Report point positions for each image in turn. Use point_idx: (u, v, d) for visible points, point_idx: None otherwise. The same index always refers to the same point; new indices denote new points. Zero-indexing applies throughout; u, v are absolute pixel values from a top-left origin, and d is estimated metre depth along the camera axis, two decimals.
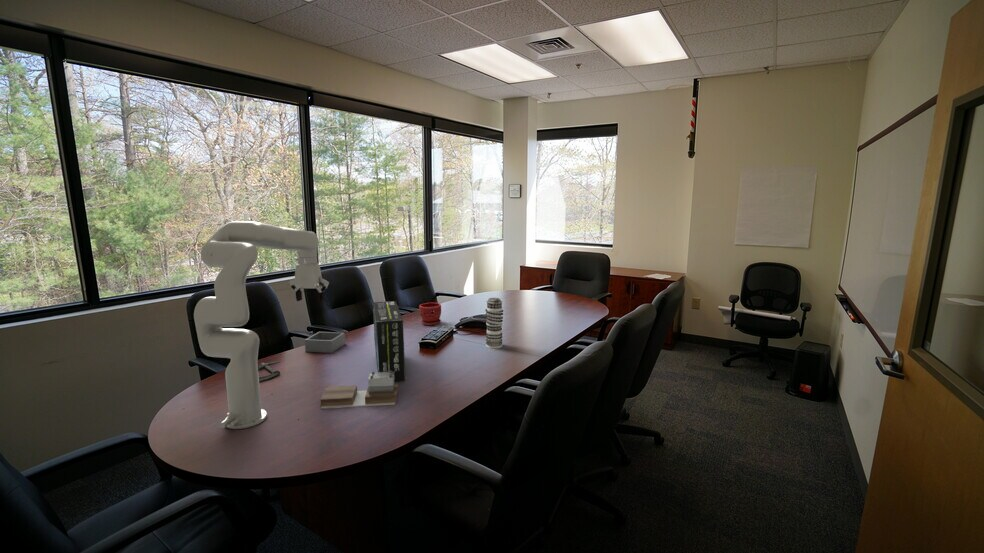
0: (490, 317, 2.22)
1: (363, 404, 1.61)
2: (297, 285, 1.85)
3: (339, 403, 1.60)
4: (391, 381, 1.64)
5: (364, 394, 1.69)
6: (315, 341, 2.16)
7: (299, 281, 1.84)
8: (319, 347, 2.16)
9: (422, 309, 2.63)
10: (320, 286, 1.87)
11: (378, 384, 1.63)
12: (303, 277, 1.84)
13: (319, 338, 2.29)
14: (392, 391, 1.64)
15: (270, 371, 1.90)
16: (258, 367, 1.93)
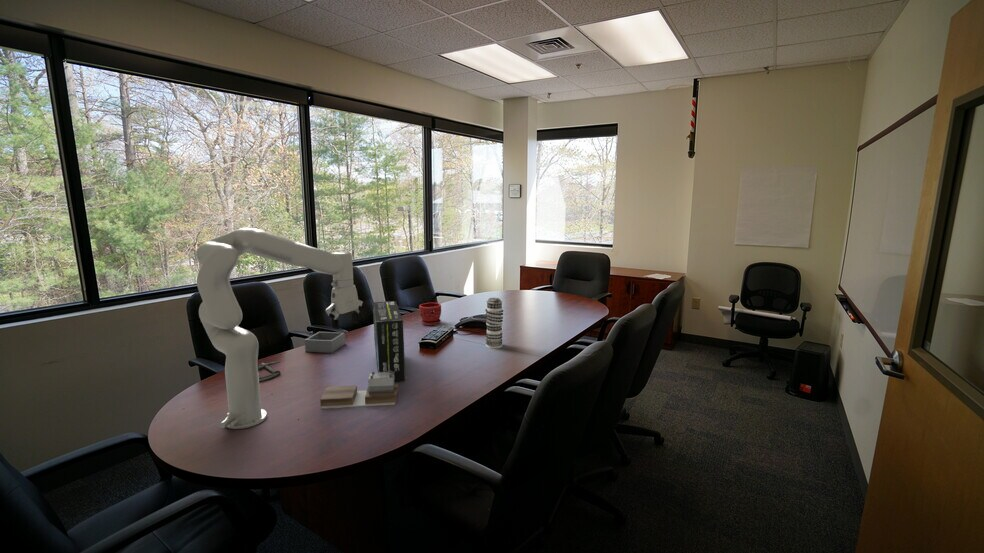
0: (490, 317, 2.22)
1: (363, 404, 1.61)
2: (341, 311, 1.70)
3: (339, 403, 1.60)
4: (391, 381, 1.64)
5: (364, 394, 1.69)
6: (315, 341, 2.16)
7: (343, 306, 1.71)
8: (319, 347, 2.16)
9: (422, 309, 2.63)
10: None
11: (378, 384, 1.63)
12: (347, 301, 1.72)
13: (319, 338, 2.29)
14: (392, 391, 1.64)
15: (270, 371, 1.90)
16: (258, 367, 1.93)
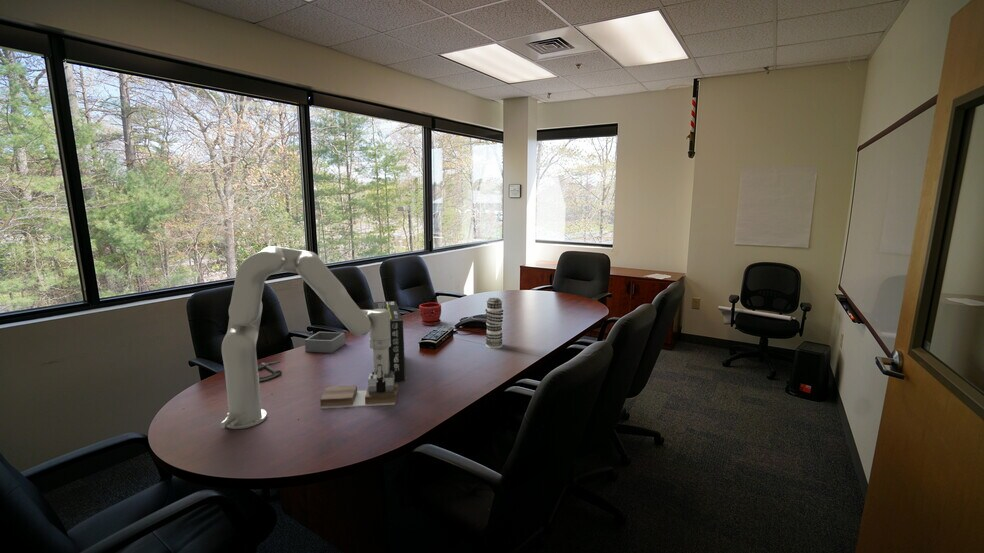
0: (490, 317, 2.22)
1: (363, 404, 1.61)
2: (387, 371, 1.62)
3: (339, 403, 1.60)
4: (391, 381, 1.64)
5: (364, 394, 1.69)
6: (315, 341, 2.16)
7: (388, 366, 1.63)
8: (319, 347, 2.16)
9: (422, 309, 2.63)
10: None
11: None
12: (388, 359, 1.64)
13: (319, 338, 2.29)
14: (392, 391, 1.64)
15: (271, 371, 1.90)
16: (259, 367, 1.93)
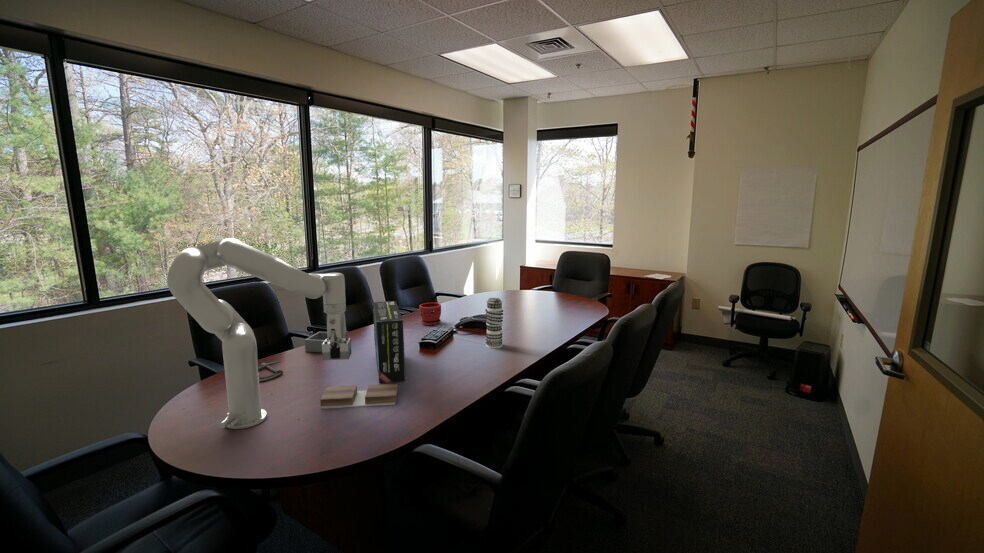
0: (490, 317, 2.22)
1: (363, 404, 1.61)
2: (342, 336, 1.58)
3: (339, 403, 1.60)
4: (346, 347, 1.59)
5: (364, 394, 1.69)
6: (315, 341, 2.16)
7: (342, 331, 1.58)
8: (319, 347, 2.16)
9: (422, 309, 2.63)
10: None
11: None
12: (343, 325, 1.60)
13: (319, 338, 2.29)
14: (347, 357, 1.60)
15: (272, 371, 1.91)
16: (259, 367, 1.93)
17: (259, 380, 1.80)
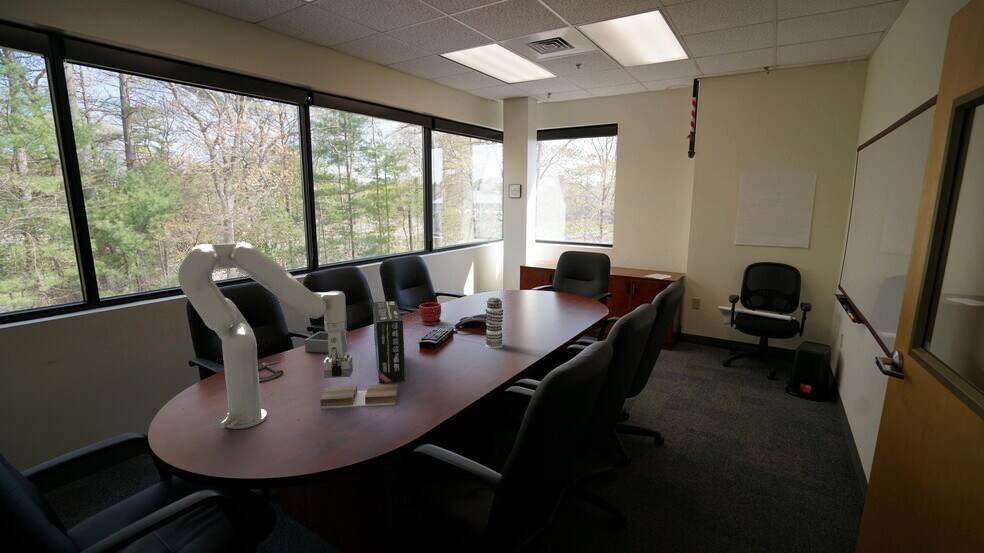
0: (490, 317, 2.22)
1: (363, 404, 1.61)
2: (343, 354, 1.59)
3: (339, 403, 1.60)
4: (347, 365, 1.60)
5: (364, 394, 1.69)
6: (315, 341, 2.16)
7: (343, 349, 1.60)
8: (319, 347, 2.16)
9: (422, 309, 2.63)
10: None
11: None
12: (344, 343, 1.61)
13: (319, 338, 2.29)
14: (348, 375, 1.61)
15: (273, 371, 1.91)
16: (260, 367, 1.93)
17: (260, 380, 1.80)
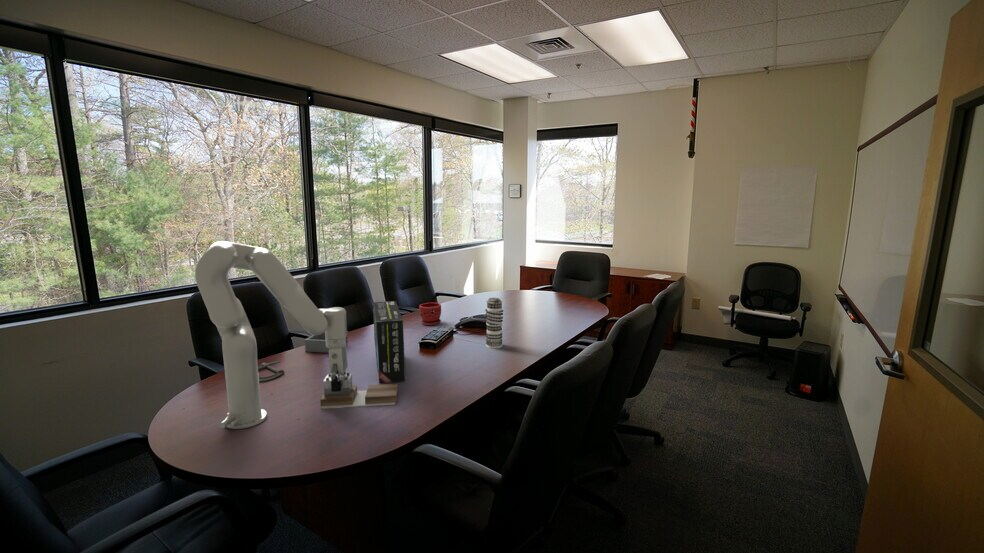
0: (490, 317, 2.22)
1: (363, 404, 1.61)
2: (343, 370, 1.60)
3: (339, 403, 1.60)
4: (347, 383, 1.61)
5: (364, 394, 1.69)
6: (315, 341, 2.16)
7: (344, 365, 1.60)
8: (319, 347, 2.16)
9: (422, 309, 2.63)
10: None
11: None
12: (345, 358, 1.62)
13: (319, 338, 2.29)
14: (348, 393, 1.62)
15: (273, 371, 1.91)
16: (260, 367, 1.93)
17: (261, 380, 1.80)
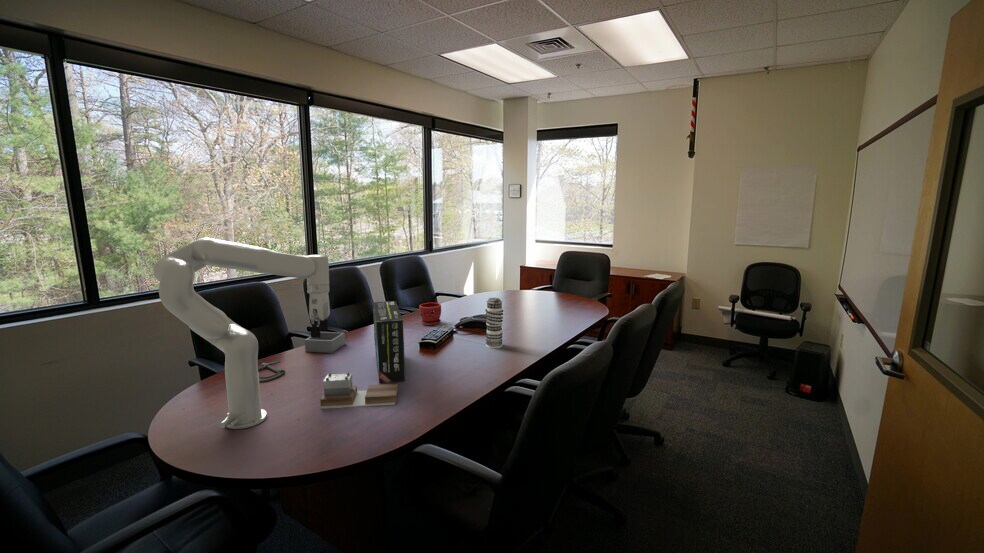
0: (490, 317, 2.22)
1: (363, 404, 1.61)
2: (324, 317, 1.60)
3: (339, 403, 1.60)
4: (347, 383, 1.61)
5: (364, 394, 1.69)
6: (315, 341, 2.16)
7: (324, 312, 1.61)
8: (319, 347, 2.16)
9: (422, 309, 2.63)
10: None
11: (334, 386, 1.61)
12: (326, 306, 1.63)
13: (319, 338, 2.29)
14: (348, 393, 1.62)
15: (274, 371, 1.91)
16: (261, 367, 1.93)
17: (262, 380, 1.80)
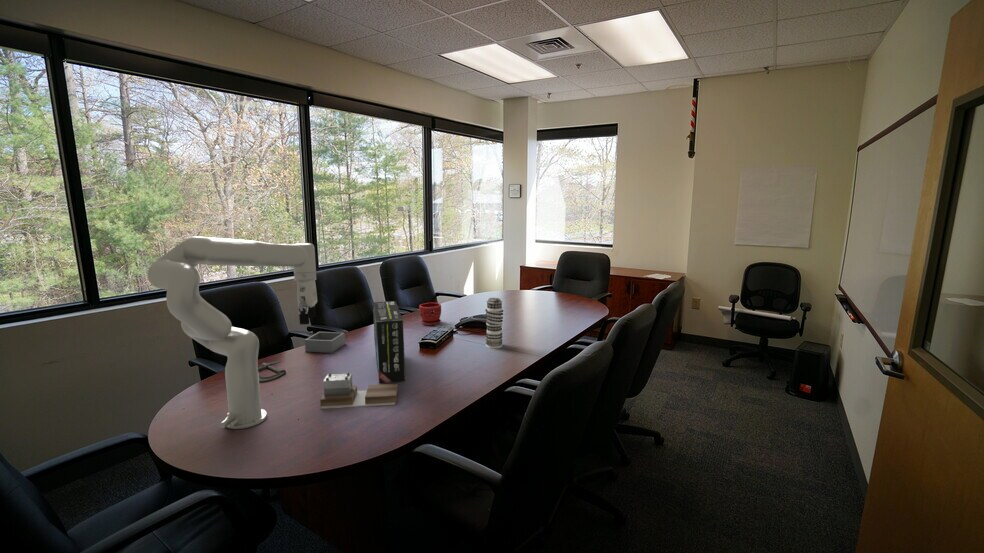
0: (490, 317, 2.22)
1: (363, 404, 1.61)
2: (312, 304, 1.64)
3: (339, 403, 1.60)
4: (347, 383, 1.61)
5: (364, 394, 1.69)
6: (315, 341, 2.16)
7: (312, 299, 1.64)
8: (319, 347, 2.16)
9: (422, 309, 2.63)
10: None
11: (334, 386, 1.61)
12: (313, 293, 1.66)
13: (319, 338, 2.29)
14: (348, 393, 1.62)
15: (275, 371, 1.91)
16: (261, 367, 1.93)
17: (263, 380, 1.81)
